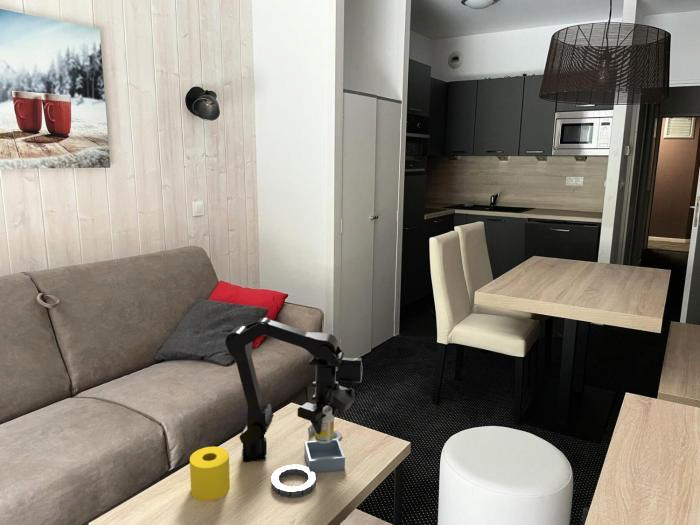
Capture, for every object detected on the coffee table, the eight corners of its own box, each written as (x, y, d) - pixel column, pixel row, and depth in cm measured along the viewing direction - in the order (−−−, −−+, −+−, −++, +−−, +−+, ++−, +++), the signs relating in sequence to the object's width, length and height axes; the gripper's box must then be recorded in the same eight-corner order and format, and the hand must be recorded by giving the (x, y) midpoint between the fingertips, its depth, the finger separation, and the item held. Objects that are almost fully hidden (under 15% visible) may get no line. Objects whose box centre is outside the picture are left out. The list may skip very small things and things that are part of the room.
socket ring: (273, 500, 139) (273, 493, 139) (270, 473, 151) (270, 467, 150) (318, 495, 142) (318, 488, 142) (311, 469, 153) (311, 463, 153)
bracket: (336, 445, 167) (336, 435, 166) (307, 437, 171) (307, 428, 170) (345, 435, 173) (345, 425, 172) (317, 428, 177) (317, 418, 176)
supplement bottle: (319, 445, 152) (320, 414, 150) (311, 436, 156) (312, 406, 154) (336, 441, 155) (337, 410, 153) (328, 432, 159) (329, 402, 157)
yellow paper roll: (190, 503, 137) (189, 470, 135) (191, 480, 147) (190, 449, 145) (230, 497, 140) (229, 465, 138) (228, 475, 149) (228, 444, 148)
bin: (309, 473, 151) (309, 461, 150) (304, 453, 161) (304, 441, 160) (344, 470, 153) (345, 457, 153) (337, 450, 163) (338, 438, 162)
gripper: (330, 399, 140) (328, 453, 143) (366, 375, 155) (364, 424, 159) (296, 387, 146) (295, 440, 149) (334, 365, 161) (333, 413, 164)
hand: (324, 429), depth 155 cm, fingers closed on supplement bottle, 5 cm apart
